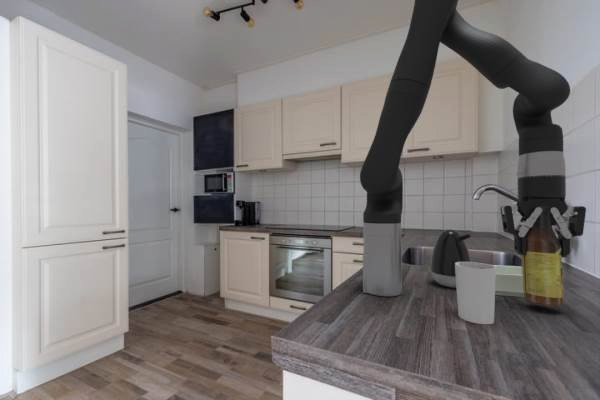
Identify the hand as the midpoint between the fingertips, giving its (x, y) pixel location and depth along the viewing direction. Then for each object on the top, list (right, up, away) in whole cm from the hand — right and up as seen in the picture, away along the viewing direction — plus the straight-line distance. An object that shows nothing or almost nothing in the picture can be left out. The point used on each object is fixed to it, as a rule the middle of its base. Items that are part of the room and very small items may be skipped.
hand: (541, 255), depth 56 cm
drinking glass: (-17, -11, -5) cm, 21 cm away
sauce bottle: (0, -10, 0) cm, 10 cm away
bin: (+3, -12, +13) cm, 18 cm away
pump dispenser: (-9, -12, +17) cm, 23 cm away
